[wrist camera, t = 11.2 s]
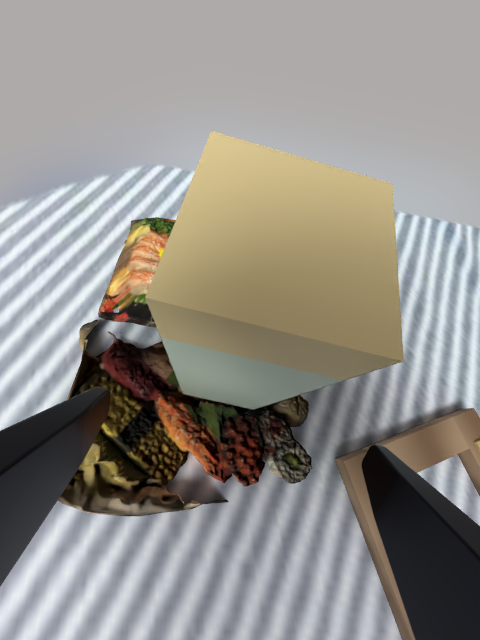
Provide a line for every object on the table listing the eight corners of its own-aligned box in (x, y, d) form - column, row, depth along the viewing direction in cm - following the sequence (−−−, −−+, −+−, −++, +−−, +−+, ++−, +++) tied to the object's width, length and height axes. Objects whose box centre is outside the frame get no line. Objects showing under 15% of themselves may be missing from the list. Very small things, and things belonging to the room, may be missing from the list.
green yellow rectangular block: (253, 409, 16) (403, 361, 4) (183, 394, 16) (144, 297, 4) (264, 343, 18) (392, 183, 6) (201, 327, 18) (211, 131, 6)
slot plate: (422, 691, 14) (444, 717, 13) (334, 459, 18) (345, 461, 17) (559, 590, 17) (588, 603, 16) (459, 409, 21) (476, 408, 20)
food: (313, 520, 17) (340, 541, 14) (17, 492, 16) (-31, 509, 12) (312, 254, 26) (329, 229, 23) (122, 218, 24) (110, 186, 21)
